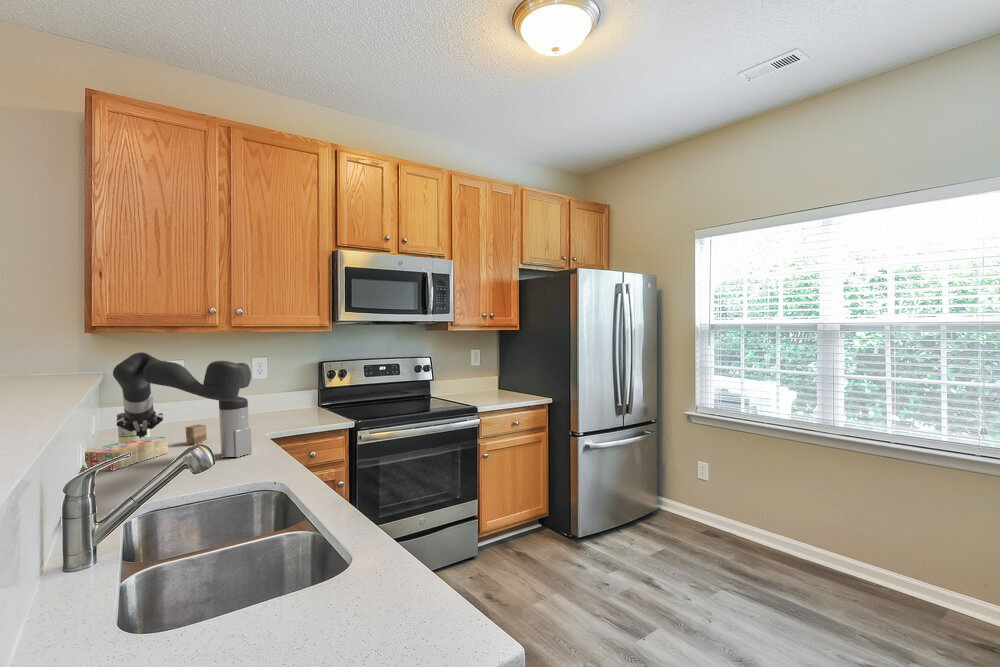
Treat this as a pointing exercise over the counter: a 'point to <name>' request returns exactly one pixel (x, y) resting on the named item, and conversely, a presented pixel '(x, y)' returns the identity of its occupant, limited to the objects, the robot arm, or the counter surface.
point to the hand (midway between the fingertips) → (142, 435)
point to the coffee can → (128, 433)
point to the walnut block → (195, 434)
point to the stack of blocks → (138, 448)
